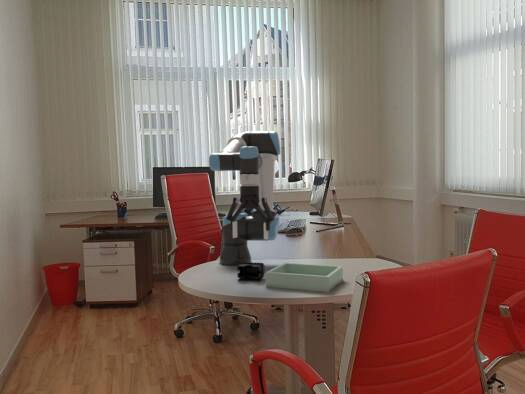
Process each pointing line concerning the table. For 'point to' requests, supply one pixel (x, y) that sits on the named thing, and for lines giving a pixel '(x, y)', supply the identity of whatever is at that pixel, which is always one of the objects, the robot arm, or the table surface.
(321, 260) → the table surface
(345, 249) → the table surface
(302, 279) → the walled box
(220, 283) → the table surface
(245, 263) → the end cap
